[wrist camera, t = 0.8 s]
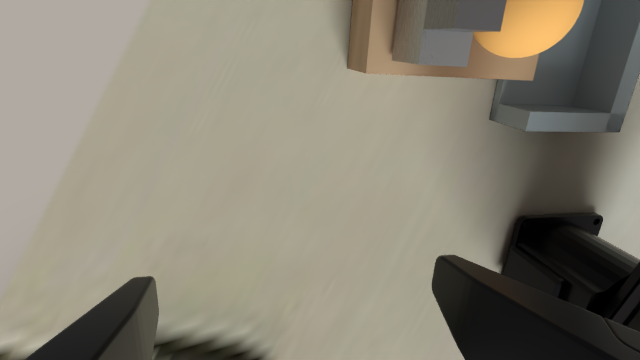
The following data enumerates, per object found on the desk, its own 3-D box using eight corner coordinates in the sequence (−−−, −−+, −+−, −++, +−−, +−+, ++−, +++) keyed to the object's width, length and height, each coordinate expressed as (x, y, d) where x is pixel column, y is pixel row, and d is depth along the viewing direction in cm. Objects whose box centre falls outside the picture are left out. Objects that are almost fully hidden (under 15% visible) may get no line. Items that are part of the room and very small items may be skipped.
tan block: (519, -49, 19) (567, -63, 16) (494, 74, 21) (532, 80, 18) (357, -69, 17) (381, -89, 14) (347, 68, 19) (365, 73, 17)
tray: (635, -91, 19) (700, -112, 17) (574, 120, 23) (619, 132, 21) (537, -107, 18) (590, -133, 16) (489, 119, 22) (525, 131, 19)
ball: (541, -39, 16) (629, -61, 13) (519, 57, 18) (593, 63, 14) (458, -49, 16) (527, -76, 12) (442, 53, 17) (499, 58, 13)
